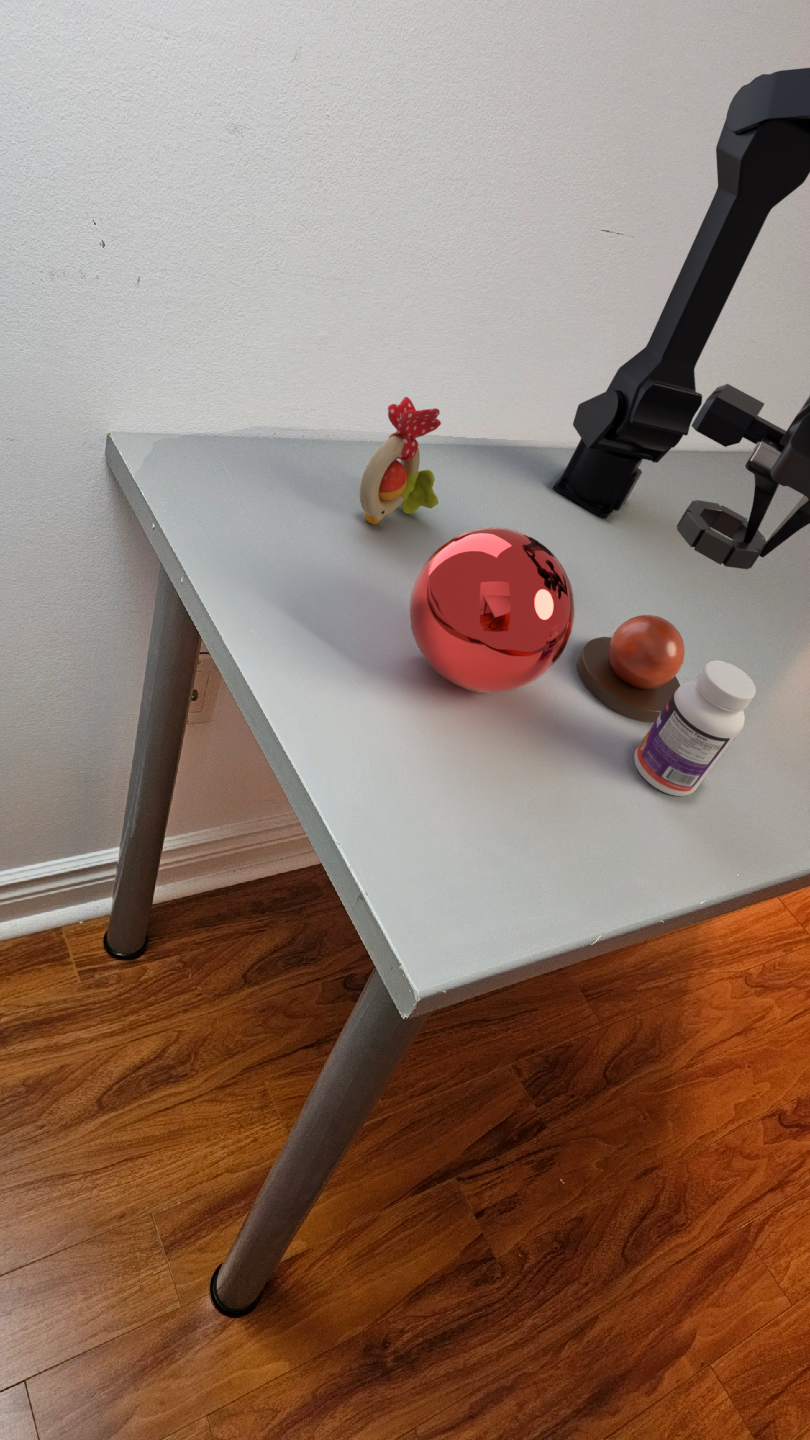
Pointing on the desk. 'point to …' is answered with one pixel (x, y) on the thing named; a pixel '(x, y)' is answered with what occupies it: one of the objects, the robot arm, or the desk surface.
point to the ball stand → (634, 667)
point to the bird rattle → (399, 466)
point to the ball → (492, 610)
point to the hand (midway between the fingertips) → (752, 550)
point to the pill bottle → (695, 729)
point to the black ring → (712, 543)
